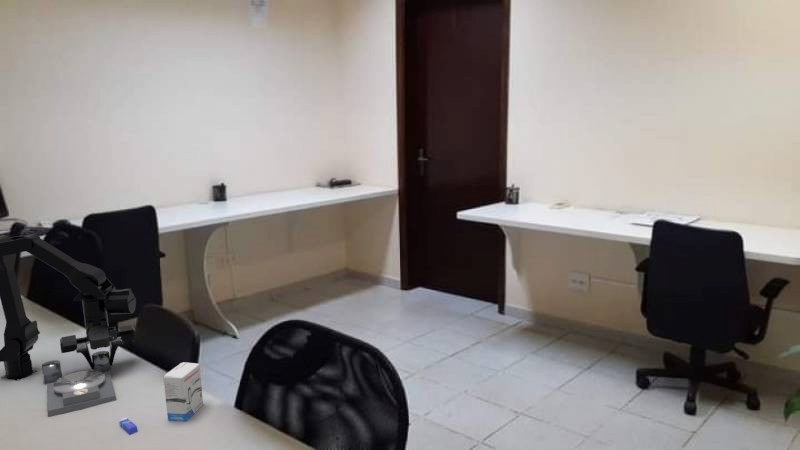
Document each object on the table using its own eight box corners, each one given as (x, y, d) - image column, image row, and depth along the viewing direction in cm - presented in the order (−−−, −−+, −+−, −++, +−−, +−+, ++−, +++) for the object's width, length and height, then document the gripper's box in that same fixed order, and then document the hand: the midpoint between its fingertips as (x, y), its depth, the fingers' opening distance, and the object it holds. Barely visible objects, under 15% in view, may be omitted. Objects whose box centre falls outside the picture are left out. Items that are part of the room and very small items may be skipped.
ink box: (186, 425, 143) (181, 378, 141) (166, 423, 144) (162, 376, 142) (204, 407, 152) (200, 362, 149) (186, 405, 153) (182, 361, 150)
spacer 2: (90, 372, 172) (88, 356, 171) (102, 366, 176) (100, 349, 175) (102, 374, 171) (100, 357, 170) (114, 368, 175) (112, 351, 174)
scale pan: (53, 382, 163) (52, 377, 162) (103, 371, 169) (102, 366, 168) (54, 400, 153) (53, 395, 152) (107, 388, 158) (106, 383, 158)
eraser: (128, 424, 145) (127, 416, 144) (138, 433, 140) (137, 425, 140) (119, 427, 143) (118, 419, 143) (129, 437, 139) (128, 429, 139)
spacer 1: (40, 383, 166) (37, 365, 165) (54, 376, 170) (51, 359, 170) (53, 385, 165) (50, 367, 164) (66, 378, 169) (64, 361, 168)
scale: (47, 389, 163) (45, 375, 162) (110, 375, 170) (108, 363, 169) (48, 416, 148) (46, 402, 148) (116, 401, 156) (114, 387, 155)
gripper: (57, 330, 159) (65, 386, 162) (135, 316, 168) (141, 370, 171) (56, 317, 168) (64, 370, 172) (130, 305, 177) (136, 356, 181)
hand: (102, 367), depth 173 cm, fingers closed on spacer 2, 4 cm apart
